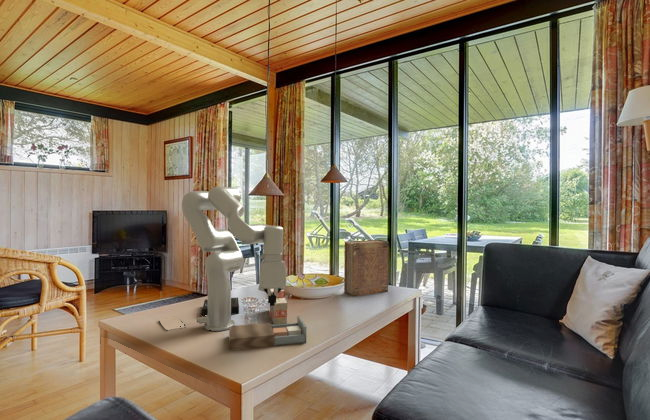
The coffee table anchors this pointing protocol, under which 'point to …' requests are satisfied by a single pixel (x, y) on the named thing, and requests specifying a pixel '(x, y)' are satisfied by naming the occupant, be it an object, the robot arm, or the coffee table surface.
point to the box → (291, 338)
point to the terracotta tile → (279, 332)
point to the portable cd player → (233, 307)
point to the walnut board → (250, 336)
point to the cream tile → (293, 330)
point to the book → (366, 267)
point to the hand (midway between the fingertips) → (272, 304)
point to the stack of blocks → (279, 309)
